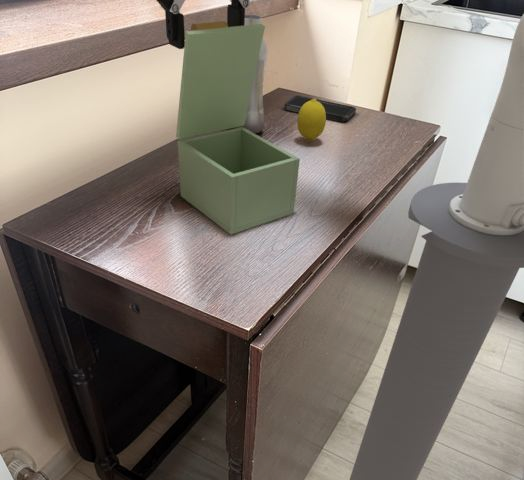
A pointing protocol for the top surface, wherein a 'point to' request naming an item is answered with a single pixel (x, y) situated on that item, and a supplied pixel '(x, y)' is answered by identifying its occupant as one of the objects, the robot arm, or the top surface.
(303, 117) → the lemon
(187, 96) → the lid
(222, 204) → the chest
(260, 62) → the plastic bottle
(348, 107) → the phone
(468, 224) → the robot arm
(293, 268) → the top surface
